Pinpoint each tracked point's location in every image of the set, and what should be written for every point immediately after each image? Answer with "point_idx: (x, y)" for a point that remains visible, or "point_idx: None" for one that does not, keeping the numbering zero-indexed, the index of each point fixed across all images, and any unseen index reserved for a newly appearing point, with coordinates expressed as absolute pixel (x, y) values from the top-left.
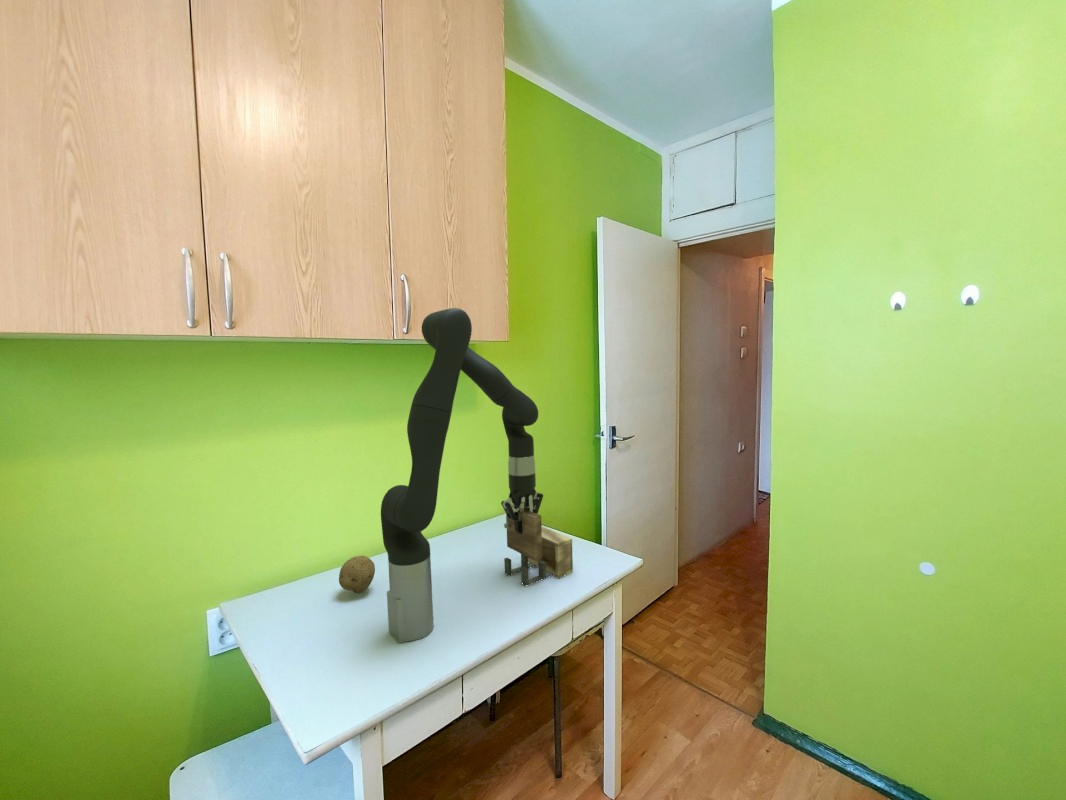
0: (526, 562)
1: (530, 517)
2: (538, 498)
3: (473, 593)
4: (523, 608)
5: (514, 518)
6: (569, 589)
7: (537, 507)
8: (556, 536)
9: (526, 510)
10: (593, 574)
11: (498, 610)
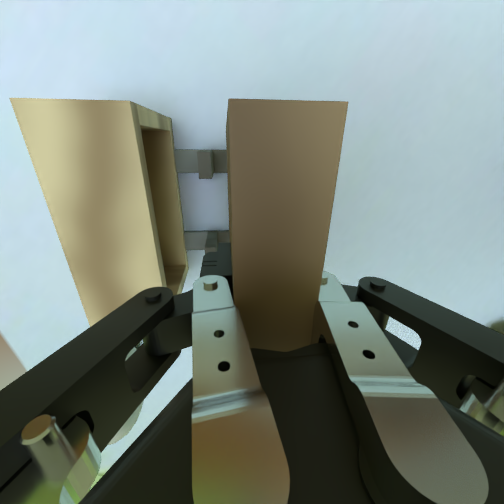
0: (212, 237)
1: (330, 176)
2: (37, 429)
3: (385, 211)
4: (366, 42)
5: (387, 282)
6: (184, 23)
7: (122, 325)
8: (83, 188)
9: (246, 331)
10: (40, 45)
11: (412, 91)
